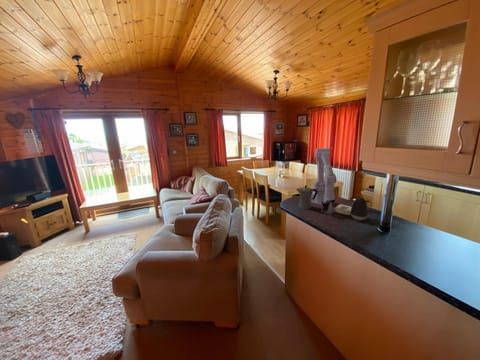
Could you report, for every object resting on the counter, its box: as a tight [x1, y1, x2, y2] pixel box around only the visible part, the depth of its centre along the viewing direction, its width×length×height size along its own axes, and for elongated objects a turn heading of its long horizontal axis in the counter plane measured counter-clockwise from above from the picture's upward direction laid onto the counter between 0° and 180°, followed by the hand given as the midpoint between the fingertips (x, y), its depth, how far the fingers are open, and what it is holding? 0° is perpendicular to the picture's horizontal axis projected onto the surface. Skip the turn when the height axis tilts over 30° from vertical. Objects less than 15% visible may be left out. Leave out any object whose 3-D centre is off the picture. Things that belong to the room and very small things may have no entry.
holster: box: [320, 208, 336, 216], centre depth 146 cm, size 8×6×2 cm
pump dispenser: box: [350, 196, 371, 221], centre depth 133 cm, size 10×10×15 cm
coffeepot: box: [295, 185, 318, 210], centre depth 154 cm, size 15×9×18 cm, turn 70°
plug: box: [324, 201, 333, 214], centre depth 145 cm, size 4×4×8 cm
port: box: [334, 203, 352, 216], centre depth 146 cm, size 10×10×3 cm
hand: (328, 209), depth 145 cm, fingers open, 7 cm apart
